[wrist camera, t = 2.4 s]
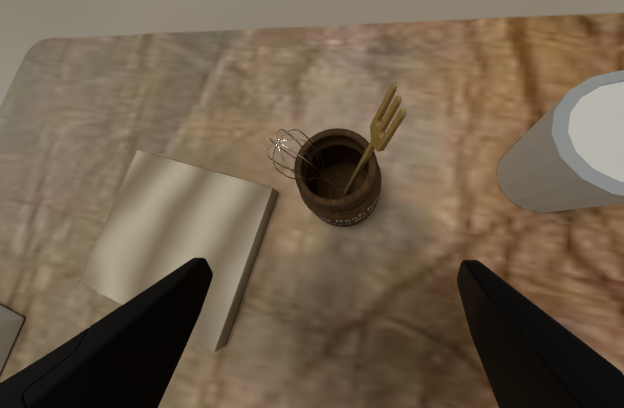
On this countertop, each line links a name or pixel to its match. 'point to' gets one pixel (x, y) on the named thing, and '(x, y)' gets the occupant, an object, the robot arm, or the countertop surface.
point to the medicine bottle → (8, 332)
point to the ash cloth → (181, 237)
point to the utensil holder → (343, 167)
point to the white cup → (571, 151)
